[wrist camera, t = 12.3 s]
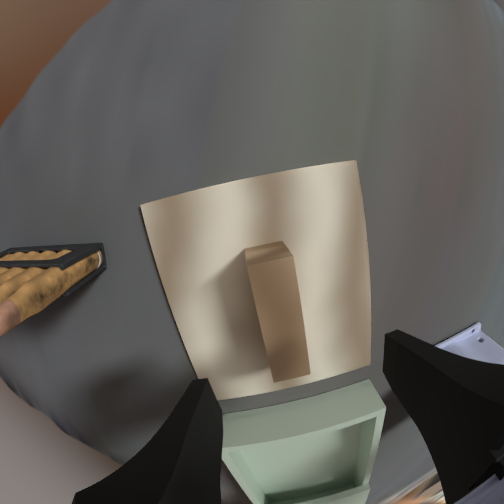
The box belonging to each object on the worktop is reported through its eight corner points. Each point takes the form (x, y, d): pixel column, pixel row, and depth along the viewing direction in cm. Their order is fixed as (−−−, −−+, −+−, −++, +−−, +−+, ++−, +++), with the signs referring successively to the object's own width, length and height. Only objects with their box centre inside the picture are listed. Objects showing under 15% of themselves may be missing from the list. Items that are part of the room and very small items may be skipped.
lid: (349, 160, 17) (382, 157, 13) (365, 358, 21) (386, 389, 17) (145, 203, 17) (117, 212, 13) (209, 393, 21) (205, 432, 17)
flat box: (368, 378, 21) (391, 415, 16) (356, 479, 28) (364, 503, 23) (216, 414, 21) (215, 457, 16) (264, 501, 27) (267, 526, 23)
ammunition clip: (13, 268, 17) (-81, 326, 5) (9, 248, 16) (-90, 298, 5) (107, 268, 17) (-5, 366, 6) (103, 242, 17) (-23, 322, 5)
